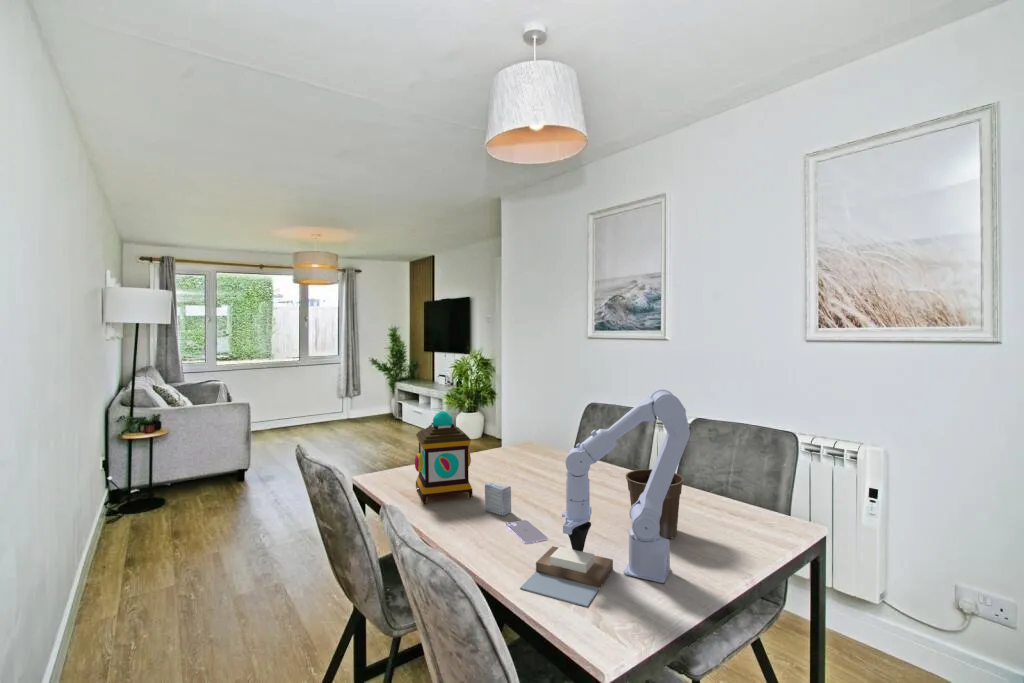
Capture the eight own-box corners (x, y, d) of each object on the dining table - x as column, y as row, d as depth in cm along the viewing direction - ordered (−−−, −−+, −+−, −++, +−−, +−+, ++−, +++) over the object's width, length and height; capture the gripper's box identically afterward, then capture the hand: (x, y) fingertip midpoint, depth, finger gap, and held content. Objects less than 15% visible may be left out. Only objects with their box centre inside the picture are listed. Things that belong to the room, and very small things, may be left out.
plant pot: (614, 526, 148) (614, 472, 148) (657, 517, 154) (657, 466, 154) (649, 548, 133) (649, 488, 133) (696, 537, 139) (696, 480, 139)
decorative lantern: (464, 483, 190) (463, 405, 189) (477, 499, 171) (476, 413, 171) (411, 488, 184) (410, 408, 183) (419, 506, 165) (418, 417, 164)
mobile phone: (524, 542, 136) (503, 522, 150) (524, 545, 136) (503, 525, 150) (549, 537, 139) (526, 518, 153) (549, 540, 139) (526, 521, 153)
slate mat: (599, 589, 112) (599, 587, 112) (587, 607, 105) (587, 605, 105) (535, 573, 120) (535, 571, 120) (520, 588, 113) (520, 587, 113)
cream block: (594, 562, 120) (594, 554, 120) (585, 573, 114) (585, 564, 114) (559, 554, 124) (559, 546, 124) (550, 564, 119) (550, 556, 119)
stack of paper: (511, 512, 159) (511, 486, 159) (502, 516, 156) (501, 489, 156) (494, 507, 164) (494, 481, 164) (484, 510, 161) (484, 484, 161)
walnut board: (612, 569, 121) (612, 559, 121) (599, 588, 112) (599, 577, 112) (552, 555, 129) (552, 546, 129) (536, 572, 120) (536, 562, 120)
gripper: (573, 487, 131) (573, 538, 131) (551, 504, 118) (551, 561, 118) (599, 491, 127) (599, 543, 128) (579, 509, 114) (579, 567, 115)
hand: (577, 552), depth 123 cm, fingers closed
